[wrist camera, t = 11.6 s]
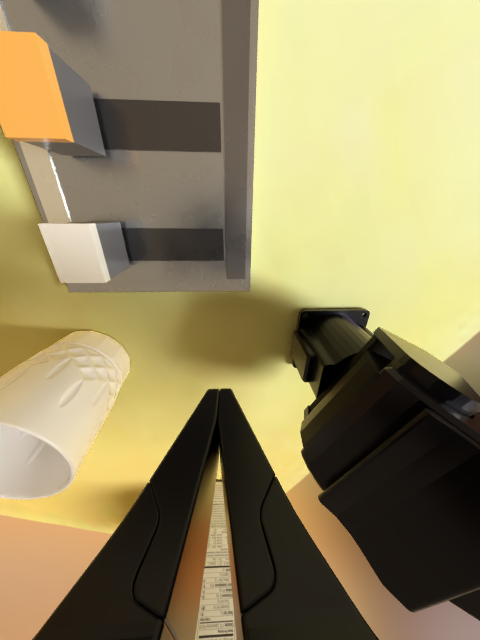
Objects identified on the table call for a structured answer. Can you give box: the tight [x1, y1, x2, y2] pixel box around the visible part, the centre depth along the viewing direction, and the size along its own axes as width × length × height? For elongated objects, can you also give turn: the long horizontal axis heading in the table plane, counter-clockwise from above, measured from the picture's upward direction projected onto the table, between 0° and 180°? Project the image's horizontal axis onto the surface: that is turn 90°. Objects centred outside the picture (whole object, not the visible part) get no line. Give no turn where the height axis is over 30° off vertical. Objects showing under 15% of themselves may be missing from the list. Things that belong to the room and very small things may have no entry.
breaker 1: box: [0, 31, 106, 156], centre depth 10 cm, size 2×3×4 cm
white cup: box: [0, 331, 130, 499], centre depth 17 cm, size 8×8×10 cm
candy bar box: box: [195, 480, 237, 640], centre depth 27 cm, size 11×5×16 cm, turn 174°
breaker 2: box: [38, 222, 130, 283], centre depth 13 cm, size 2×3×4 cm
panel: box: [0, 0, 259, 292], centre depth 13 cm, size 14×20×2 cm
